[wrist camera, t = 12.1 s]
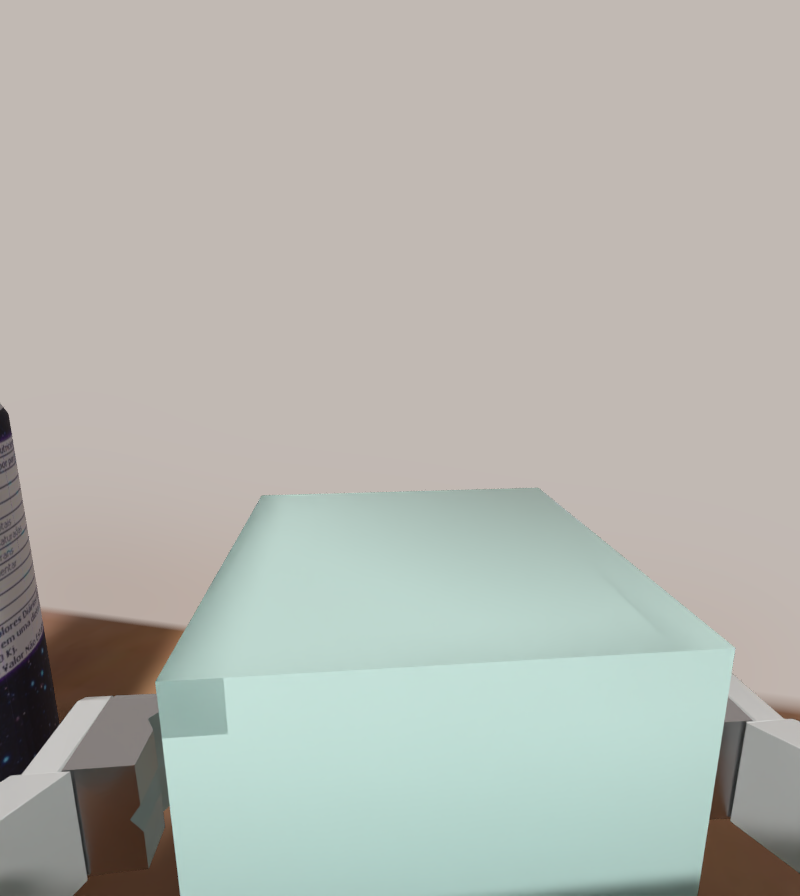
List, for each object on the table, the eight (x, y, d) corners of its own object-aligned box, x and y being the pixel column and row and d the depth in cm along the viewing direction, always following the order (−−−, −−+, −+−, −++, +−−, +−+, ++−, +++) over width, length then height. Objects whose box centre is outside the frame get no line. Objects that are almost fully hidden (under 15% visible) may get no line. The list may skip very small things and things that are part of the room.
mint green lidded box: (518, 842, 12) (538, 487, 11) (646, 1234, 7) (735, 647, 5) (284, 863, 12) (261, 495, 10) (227, 1301, 7) (154, 682, 5)
